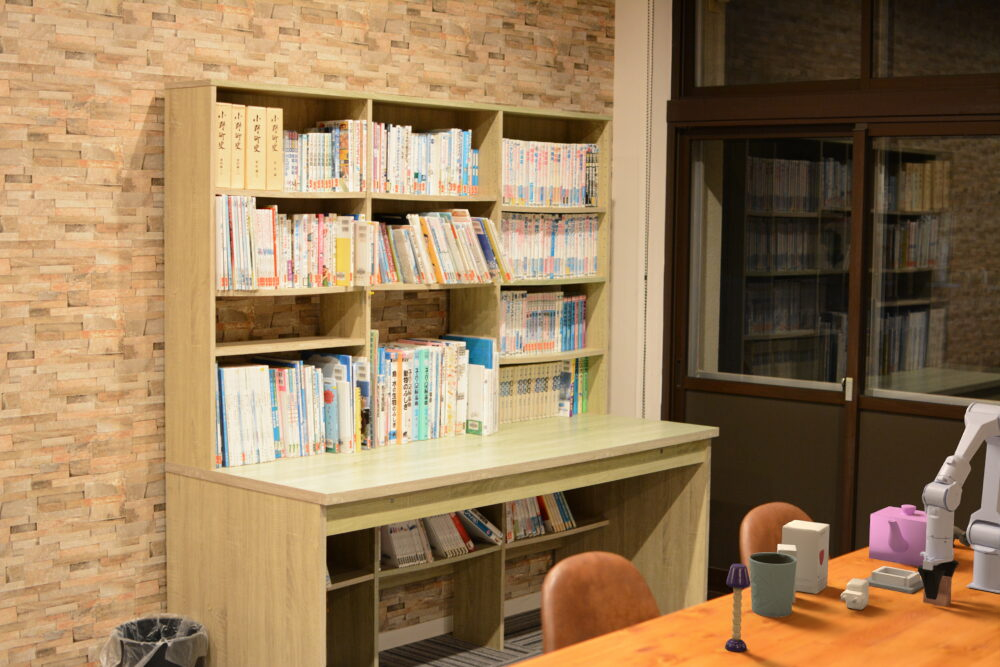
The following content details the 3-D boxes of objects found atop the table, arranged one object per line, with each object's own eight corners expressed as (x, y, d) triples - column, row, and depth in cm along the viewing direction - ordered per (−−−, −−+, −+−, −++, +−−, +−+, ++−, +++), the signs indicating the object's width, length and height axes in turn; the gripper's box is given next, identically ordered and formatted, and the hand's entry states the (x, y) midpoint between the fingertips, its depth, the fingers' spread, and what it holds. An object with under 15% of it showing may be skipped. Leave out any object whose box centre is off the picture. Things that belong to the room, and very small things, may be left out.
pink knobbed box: (858, 563, 301) (860, 509, 300) (893, 545, 321) (895, 495, 320) (917, 574, 292) (919, 518, 291) (950, 555, 311) (952, 502, 310)
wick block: (928, 599, 270) (929, 573, 270) (950, 603, 267) (951, 577, 267) (923, 602, 267) (924, 576, 267) (945, 606, 264) (946, 580, 264)
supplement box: (817, 595, 272) (819, 531, 271) (779, 588, 277) (781, 525, 276) (828, 586, 279) (830, 523, 278) (791, 580, 284) (793, 518, 283)
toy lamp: (721, 644, 236) (724, 562, 235) (744, 643, 236) (746, 561, 235) (728, 652, 231) (730, 568, 230) (751, 651, 232) (754, 568, 230)
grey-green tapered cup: (798, 608, 261) (800, 555, 260) (789, 621, 252) (791, 566, 251) (753, 602, 265) (754, 549, 264) (742, 614, 256) (744, 560, 255)
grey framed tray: (880, 574, 291) (881, 562, 291) (929, 583, 283) (929, 571, 283) (861, 584, 282) (861, 572, 281) (911, 593, 274) (911, 581, 274)
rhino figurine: (972, 552, 314) (973, 530, 314) (921, 543, 323) (922, 522, 323) (977, 550, 317) (978, 528, 317) (927, 541, 326) (928, 519, 326)
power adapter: (858, 618, 255) (859, 591, 254) (835, 614, 257) (836, 587, 257) (871, 605, 264) (872, 579, 264) (849, 601, 267) (850, 576, 267)
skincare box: (795, 603, 265) (797, 551, 264) (775, 602, 266) (777, 549, 265) (794, 596, 271) (795, 544, 270) (775, 594, 272) (776, 543, 271)
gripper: (933, 527, 274) (930, 585, 275) (910, 538, 263) (907, 598, 264) (964, 532, 270) (961, 590, 271) (942, 543, 259) (939, 604, 260)
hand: (937, 595), depth 267 cm, fingers open, 7 cm apart
